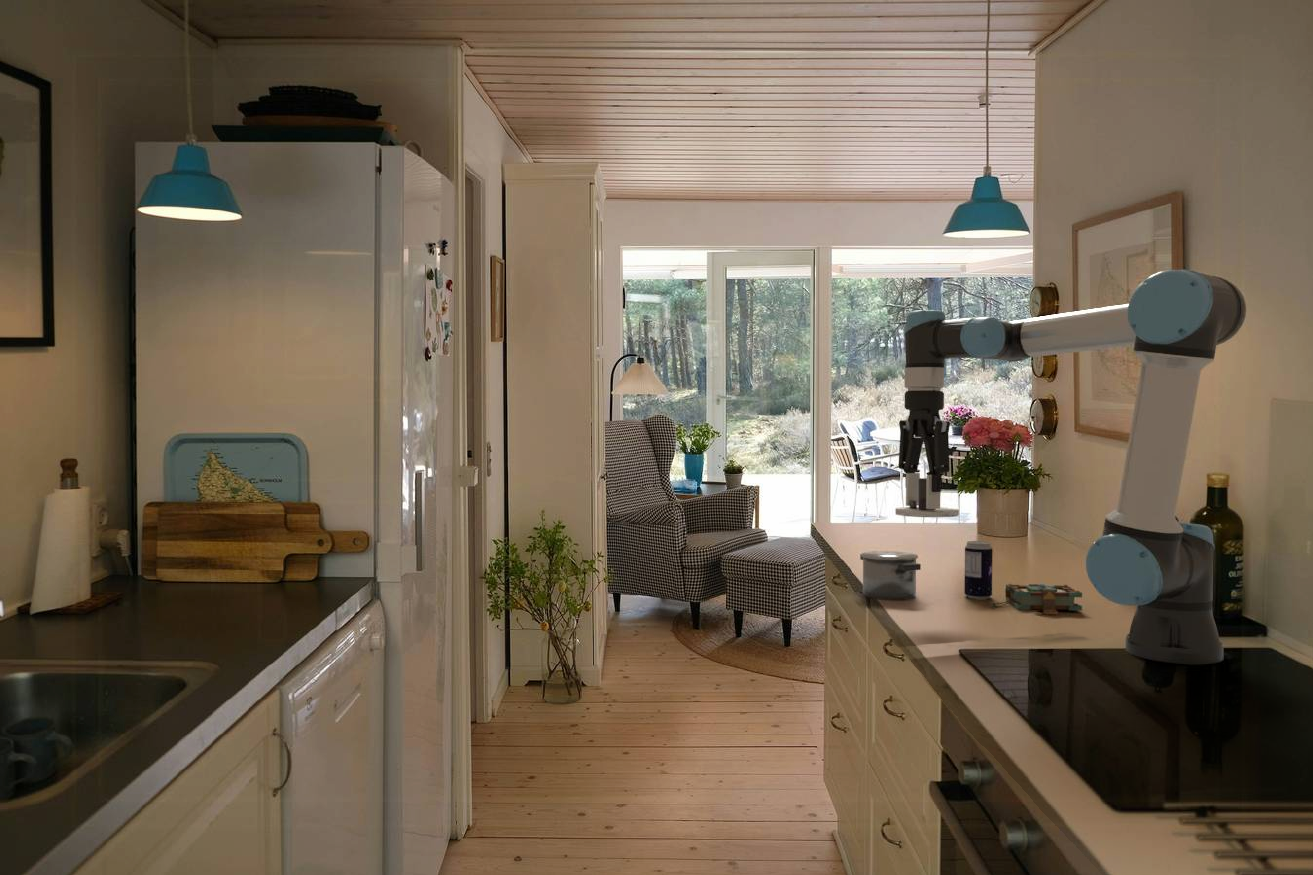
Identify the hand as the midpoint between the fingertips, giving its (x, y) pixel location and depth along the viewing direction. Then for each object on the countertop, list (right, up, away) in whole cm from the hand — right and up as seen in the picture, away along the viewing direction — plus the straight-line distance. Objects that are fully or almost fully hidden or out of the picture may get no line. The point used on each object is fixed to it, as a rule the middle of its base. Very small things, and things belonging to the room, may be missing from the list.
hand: (922, 506), depth 201 cm
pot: (-2, -21, +20) cm, 29 cm away
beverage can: (+17, -21, +18) cm, 32 cm away
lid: (0, -1, -1) cm, 2 cm away
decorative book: (+25, -22, +9) cm, 34 cm away
